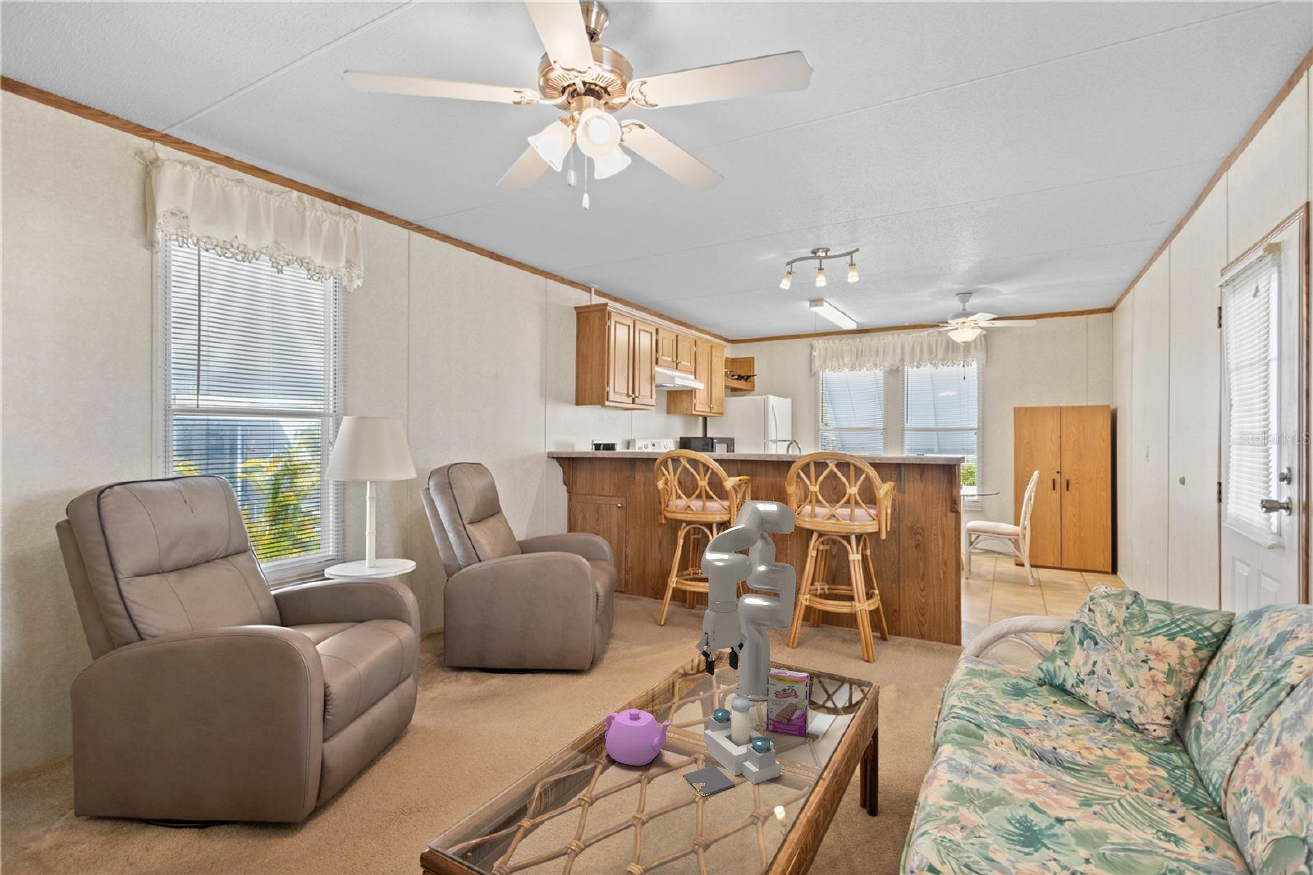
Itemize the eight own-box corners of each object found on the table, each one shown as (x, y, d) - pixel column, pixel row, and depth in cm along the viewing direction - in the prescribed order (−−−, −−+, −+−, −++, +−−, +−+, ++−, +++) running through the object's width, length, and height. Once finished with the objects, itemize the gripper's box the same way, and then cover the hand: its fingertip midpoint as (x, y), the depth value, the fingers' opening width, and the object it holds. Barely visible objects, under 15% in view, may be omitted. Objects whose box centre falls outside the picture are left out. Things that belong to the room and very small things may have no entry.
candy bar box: (766, 732, 171) (766, 673, 170) (768, 723, 176) (769, 667, 175) (807, 738, 167) (807, 679, 167) (808, 730, 172) (809, 672, 172)
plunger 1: (710, 728, 166) (710, 710, 166) (723, 725, 168) (723, 707, 168) (719, 736, 162) (719, 717, 162) (732, 732, 164) (733, 713, 164)
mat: (682, 777, 149) (682, 774, 149) (713, 767, 153) (713, 765, 153) (703, 797, 141) (703, 794, 141) (734, 786, 145) (734, 783, 145)
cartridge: (727, 755, 158) (727, 698, 158) (741, 751, 161) (742, 694, 160) (738, 764, 154) (738, 706, 154) (753, 760, 156) (753, 702, 156)
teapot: (591, 759, 157) (591, 713, 156) (618, 735, 168) (618, 693, 168) (660, 780, 147) (660, 732, 147) (683, 754, 159) (684, 709, 159)
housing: (697, 743, 164) (697, 719, 164) (734, 733, 170) (734, 710, 170) (747, 786, 145) (747, 759, 145) (786, 773, 151) (786, 747, 150)
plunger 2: (748, 759, 151) (748, 739, 151) (762, 754, 153) (762, 734, 153) (759, 768, 147) (759, 747, 147) (773, 763, 149) (773, 743, 149)
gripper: (740, 597, 172) (739, 660, 172) (687, 606, 163) (687, 671, 164) (756, 604, 165) (756, 669, 165) (702, 613, 157) (702, 682, 157)
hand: (721, 670), depth 164 cm, fingers open, 7 cm apart
